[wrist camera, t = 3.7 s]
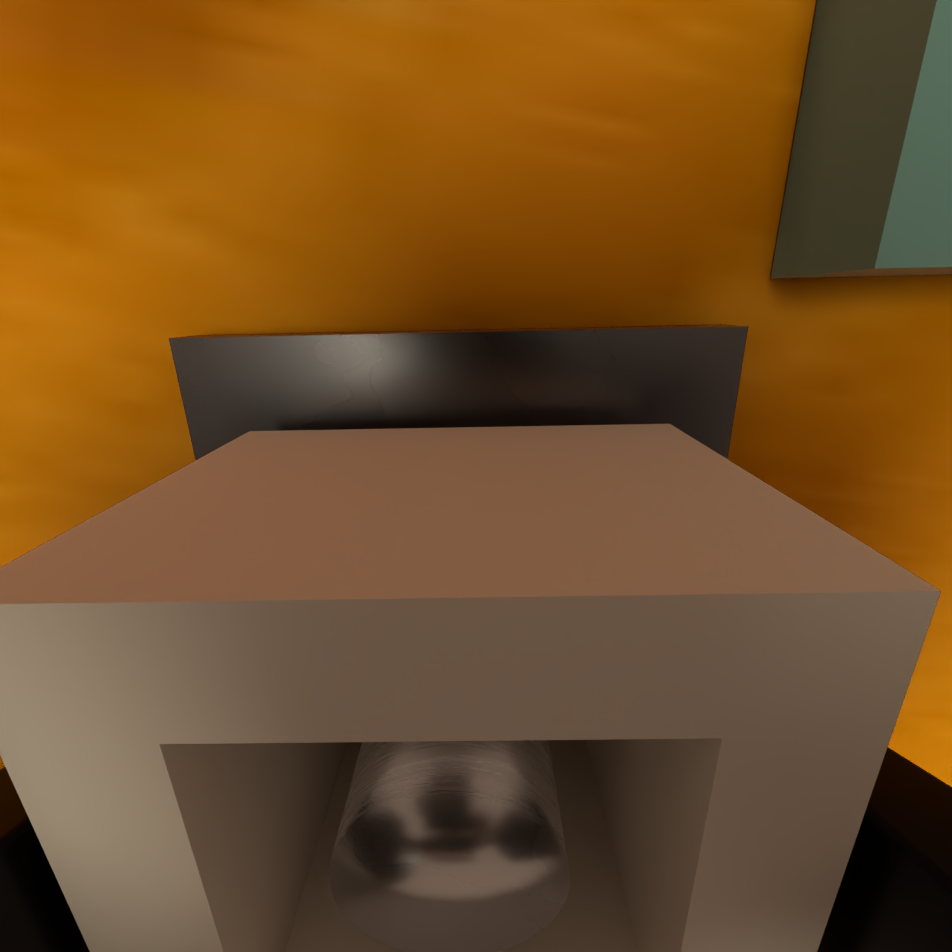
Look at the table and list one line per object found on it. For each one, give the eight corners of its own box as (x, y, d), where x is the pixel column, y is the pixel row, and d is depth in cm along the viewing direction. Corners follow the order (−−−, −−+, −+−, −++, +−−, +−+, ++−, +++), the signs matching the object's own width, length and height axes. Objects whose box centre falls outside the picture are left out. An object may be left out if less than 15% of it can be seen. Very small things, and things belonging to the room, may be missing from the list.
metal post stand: (664, 728, 13) (840, 1131, 6) (279, 732, 13) (92, 1133, 7) (720, 324, 9) (1197, 360, 3) (199, 335, 9) (-329, 390, 3)
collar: (633, 745, 10) (762, 1113, 6) (305, 748, 10) (163, 1114, 6) (669, 423, 8) (940, 591, 3) (249, 431, 8) (-68, 604, 3)
